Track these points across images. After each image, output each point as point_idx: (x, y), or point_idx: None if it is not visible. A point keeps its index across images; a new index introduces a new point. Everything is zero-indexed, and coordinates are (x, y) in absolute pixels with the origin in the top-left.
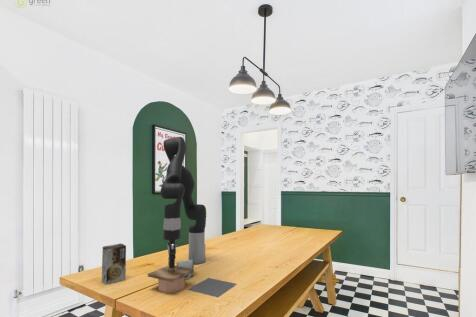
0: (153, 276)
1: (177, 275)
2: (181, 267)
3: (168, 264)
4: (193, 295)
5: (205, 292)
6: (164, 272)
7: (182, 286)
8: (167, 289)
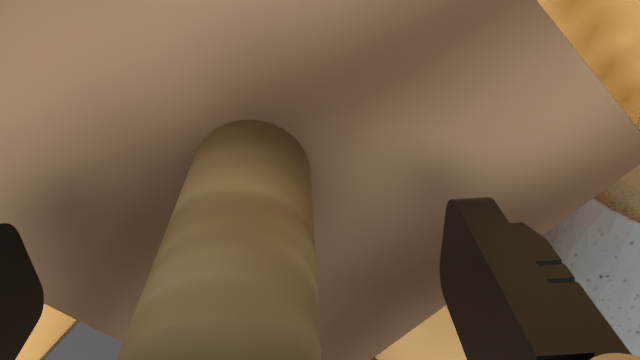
0: None
1: (34, 262)
2: (414, 306)
3: (200, 203)
4: None
5: (83, 358)
6: (208, 53)
7: None
8: None
